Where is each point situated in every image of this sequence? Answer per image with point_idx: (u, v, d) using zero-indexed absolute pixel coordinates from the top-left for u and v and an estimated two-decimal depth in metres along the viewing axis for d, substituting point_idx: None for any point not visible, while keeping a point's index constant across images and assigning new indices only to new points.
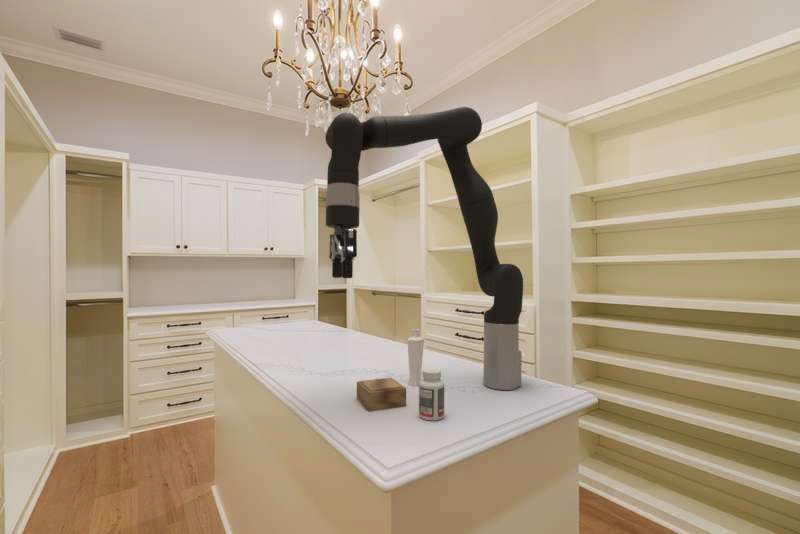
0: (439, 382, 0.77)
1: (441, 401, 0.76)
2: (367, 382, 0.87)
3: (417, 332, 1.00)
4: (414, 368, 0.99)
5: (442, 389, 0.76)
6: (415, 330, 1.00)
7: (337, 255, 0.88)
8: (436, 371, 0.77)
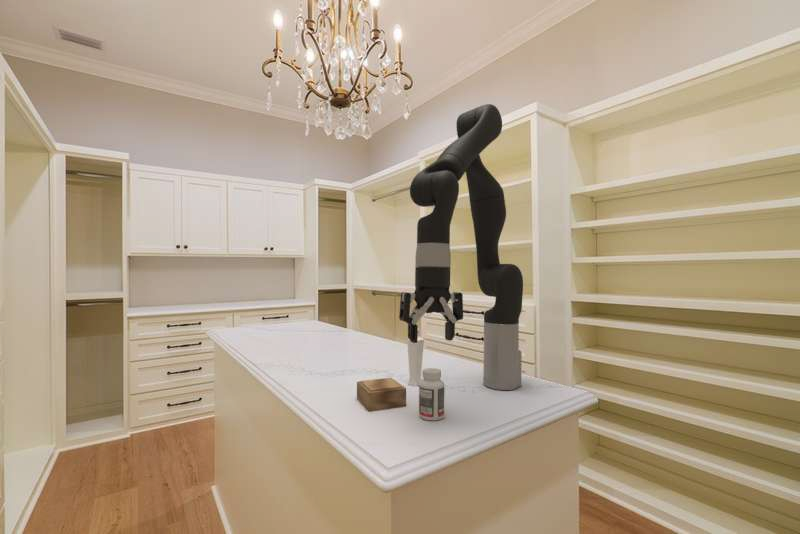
0: (439, 382, 0.77)
1: (441, 401, 0.76)
2: (367, 382, 0.87)
3: None
4: (414, 368, 0.99)
5: (442, 389, 0.76)
6: None
7: None
8: (436, 371, 0.77)
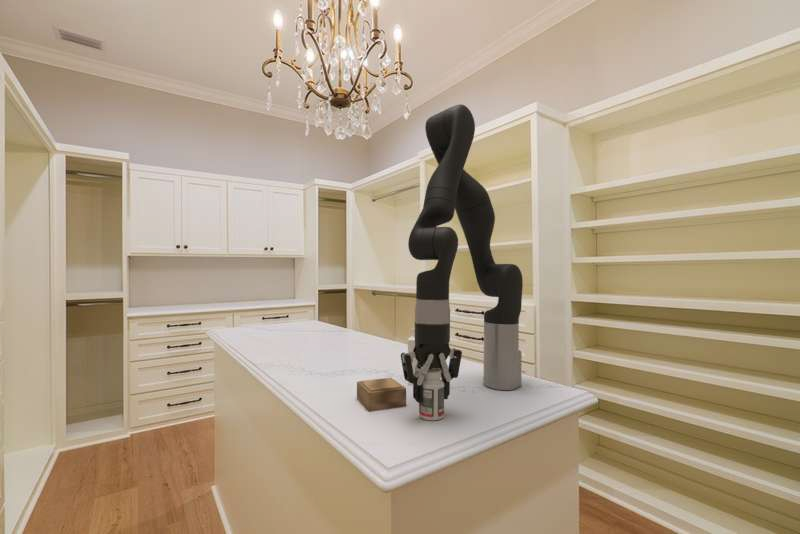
0: (439, 382, 0.77)
1: (441, 401, 0.76)
2: (367, 382, 0.87)
3: None
4: (414, 368, 0.99)
5: (442, 389, 0.76)
6: None
7: None
8: (436, 371, 0.77)
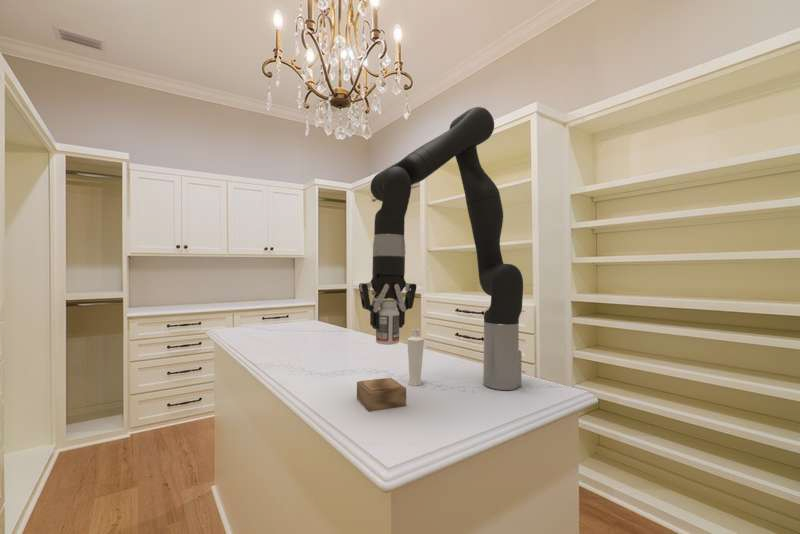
0: (394, 310, 0.84)
1: (396, 327, 0.83)
2: (367, 382, 0.87)
3: (417, 332, 1.00)
4: (414, 368, 0.99)
5: (397, 317, 0.83)
6: (415, 330, 1.00)
7: None
8: (392, 301, 0.84)
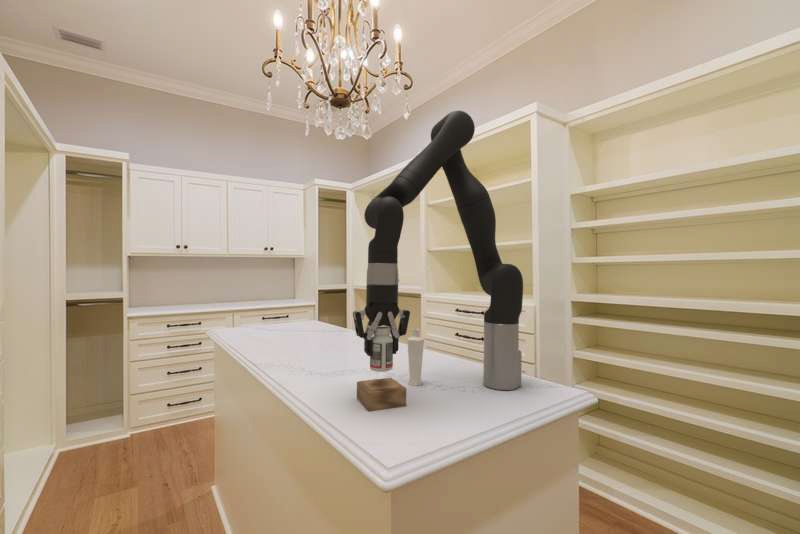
0: (387, 338, 0.85)
1: (389, 354, 0.85)
2: (367, 382, 0.87)
3: (417, 332, 1.00)
4: (414, 368, 0.99)
5: (390, 344, 0.85)
6: (415, 330, 1.00)
7: None
8: (385, 328, 0.86)
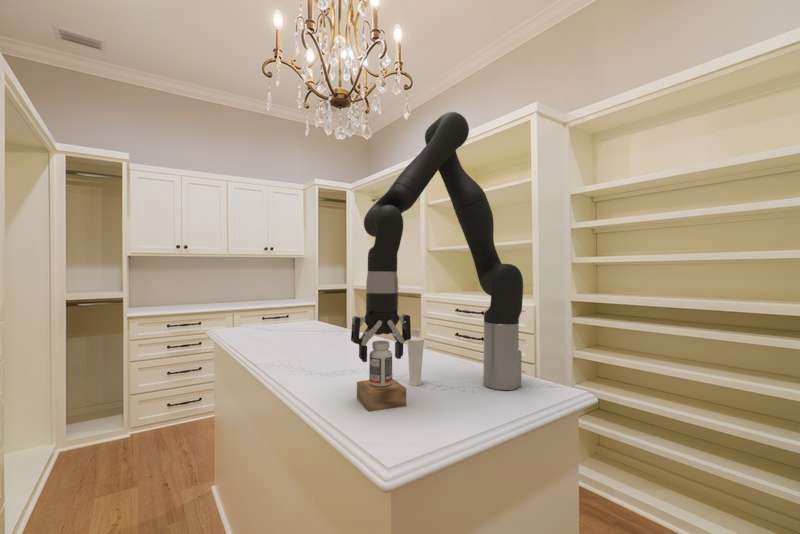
0: (387, 352, 0.85)
1: (388, 369, 0.84)
2: (367, 382, 0.87)
3: (417, 332, 1.00)
4: (414, 368, 0.99)
5: (389, 358, 0.85)
6: (415, 330, 1.00)
7: (359, 338, 0.84)
8: (384, 342, 0.85)
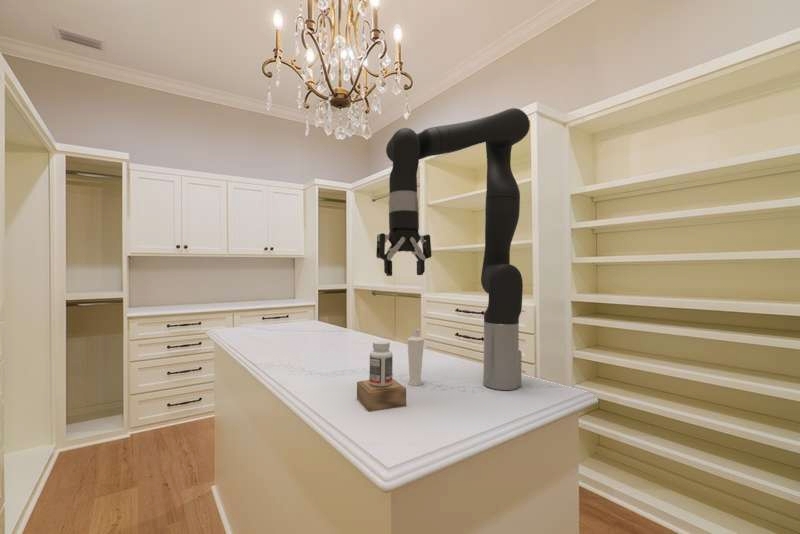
0: (387, 352, 0.85)
1: (389, 369, 0.84)
2: (367, 382, 0.87)
3: (417, 332, 1.00)
4: (414, 368, 0.99)
5: (389, 358, 0.85)
6: (415, 330, 1.00)
7: None
8: (384, 342, 0.85)
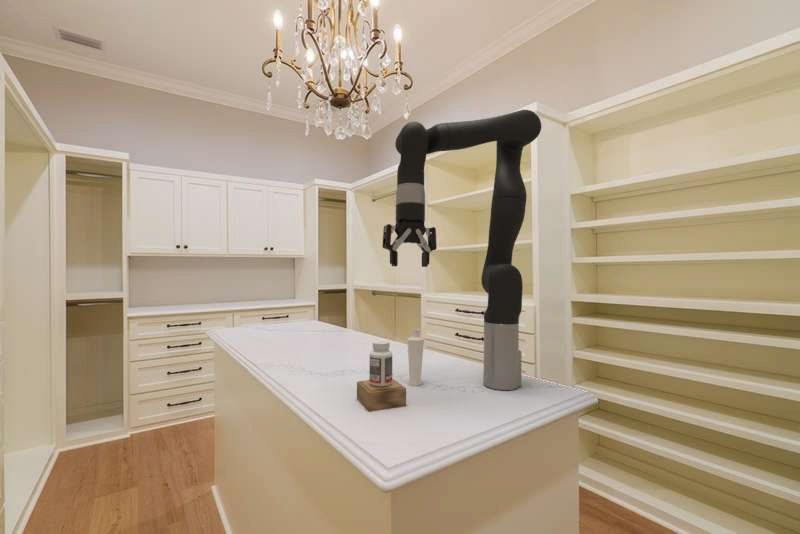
0: (387, 352, 0.85)
1: (389, 369, 0.84)
2: (367, 382, 0.87)
3: (417, 332, 1.00)
4: (414, 368, 0.99)
5: (389, 358, 0.85)
6: (415, 330, 1.00)
7: None
8: (384, 342, 0.85)
